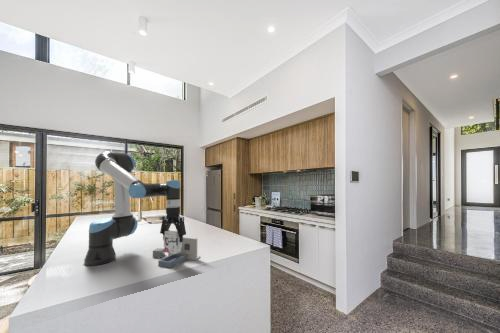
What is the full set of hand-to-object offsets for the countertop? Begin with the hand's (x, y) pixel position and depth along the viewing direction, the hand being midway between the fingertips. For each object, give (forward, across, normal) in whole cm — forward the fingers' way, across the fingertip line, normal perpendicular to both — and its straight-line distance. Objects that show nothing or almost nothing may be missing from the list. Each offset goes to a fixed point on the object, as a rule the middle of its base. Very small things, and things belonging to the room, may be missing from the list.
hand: (172, 247), depth 124 cm
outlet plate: (+9, 0, +10) cm, 13 cm away
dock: (+9, 0, 0) cm, 9 cm away
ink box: (+3, 0, 0) cm, 3 cm away
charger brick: (+9, -16, +6) cm, 19 cm away
